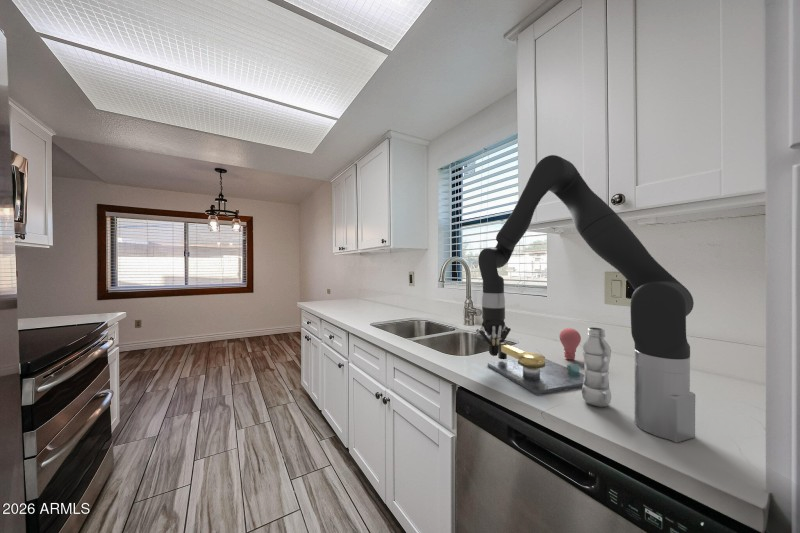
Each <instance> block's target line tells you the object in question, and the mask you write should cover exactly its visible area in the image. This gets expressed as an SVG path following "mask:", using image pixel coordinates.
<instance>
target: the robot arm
mask: <svg viewBox="0 0 800 533" xmlns="http://www.w3.org/2000/svg"><path fill="white" fill-rule="evenodd" d="M548 192H551V193H553V195H555V196H556V197H557V198H558V199H559V200H560V201H561V202H562V203H563V205H565V207H566V208H567V210H568V211H569V214H570V217H571V220H572V222H573V224H574V226H575V229H576V230H577V232H578V235H580V236H581V238H582V239H583V240H584V242H585V243H586V245H588V246H589V248H591V250H592V251H593V252H594V253H595V254H596V255H597V256H599V257H600V258H601V259H602V260H604V261H605V262H606V263H608V264H609V265H610V266H611V267H613V268H614V269H616V270H617V271H618V272H619V273H620V274H621V275H622V276H623V277H624V278H625V279H626V280H627V282H628V283H629V284H630V286H631V287H632V289H633V290H634V291H633V293H632V295H631V299H630V308H629V309H630V328H631V329H630V331H631V337H632V340H633V341H634V423H635V424H636V426H637V427H638V428H640V429H641V430H643V431H644V432H646V433H649V434H651V435H654V436H655V437H656V436H657V437H659V438H662V439H667V440H669V441H672V442H674V443H680V442H683V441H688V440H690V439H695V438H696V393H694V392H692V391H691V346H690V344H689V342H688V339H687V338H688V337H687V316H688V315H690V314H691V312H692V310H693V309H694V304H695V303H694V297H693V296H692V294H691V292H690V291H689V290H688V289H687V287H686V286H684V285H683V284H682V283H681V282H680V281H679V280H677V279H676V278H675V277H674V276H673V275H672V274H671V273H670V272H669V271H668V270H666V269H665V268H664V267H663V266H662V265H661V264H660V263H659V262H657V260H656V259H655V258H654V257H653V256H652V255H651V253H650V252H649V251H648V250H647V248H646V247H645V246H644V245H643V243H642V242H641V241H640V239H639V238H638V237H637V236H636V235H635V234H634V232H633V231H632V230H631V228H630V227H629V226H628V225H627V224H626V223H625V222H624V220H622V218H621V217H620V216H619V215H618V214H617V213H616V211H614V210H613V208H612V207H610V206H609V205H608V204H607V203H606V202H605V201H604V200H603V199H602V198H601V197H599V196H598V195H597V194H596V193H595V192H594V191H593V190H592V189H591V188H590V186H589V185H588V184H587V182H586V181H585V180H584V178H583V177H582V175H581V174H580V172H579V170H578V169H577V167H576V166H575V164H573V163H572V162H571V161H570V160H567V159H565V158H563V157H561V156H559V155H557V154H556V155H555V154H551V155H546V156H545V157H543V158H542V159H541V160H539V161H538V163H537V164H536V166H534V169H533V170H532V172H531V174H530V176H529V179H528V180H527V182H526V185H525V187H524V188H523V191H522V193H521V194H520V196H519V198H518V200H517V203H516V205H515V206H514V208H513V210H512V212H511V213H510V215H509V216H508V218H506V221H505V222H504V224H503V225H502V226H501V228H500V229H499V231H498V232H497V234H496V236H495V240H496V242H497V243H496V245H495V247H486V248H484V249H482V250H481V251H480V253H479V255H478V260H477V262H478V267H479V272H480V276H481V279H482V297H481V301H482V302H481V311H482V312H481V313H482V314H481V315H482V324H481V327H479V328H477V329H475V331H476V333H477V334H478V336H479V337H480V339H481V340H482V341H483V343H485V344H488V353H489V354H490V355H491V356H492V357H496V356H497V357H498V345H499V343H503V342H505V340H506V339H507V337H508V335H509V334H510V332H511V327H509V326H507V325H506V322H505V319H506V301H505V300H506V297H505V281H504V280H505V279H504V277H503V276H501V275H499V271H498V269H500V268H503V267H504V266H506V264H508V262H509V261H510V259H511V257H512V255H513V252H514V250H515V248H516V246H517V244H518V243H519V242H520V241H521V239H522V238H523V236H524V235H525V234H526V233H527V230H528V229H529V227H530V225H531V223H532V219H533V216H534V213H535V211H536V208H537V206H538V204H540V201H541V200H542V199H543V198H544V196H545V195H546V194H547V193H548Z"/></svg>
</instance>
